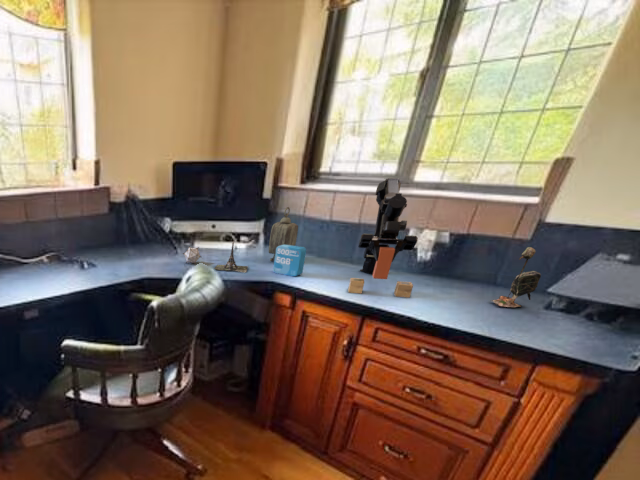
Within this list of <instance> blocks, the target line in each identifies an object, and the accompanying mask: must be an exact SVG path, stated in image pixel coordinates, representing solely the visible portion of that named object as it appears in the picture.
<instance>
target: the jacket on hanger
mask: <svg viewBox="0 0 640 480" xmlns="http://www.w3.org/2000/svg"><path fill="white" fill-rule="evenodd" d="M290 208H291V207H289V206H286V208H285V209H284V211H283V217H282V218H281V219H280V221H277V222H275V223H273V225H272V226H271V230H270V234H269V235H270V236H269V242H268V253H269V254H271V255H273V256H272V258H270V259H269V262H274V259H275V254H276V248H277V247H278V246H281V245H284V244H285V245H292V246H297V245H296V244H297V238H298V233H299V232H298V231H299V225H298V224H296V223H295V222H292V220H291V218H290V217H288V216H289V215H290V211H291V209H290ZM287 210H288V212H287ZM286 212H287V213H286Z"/></svg>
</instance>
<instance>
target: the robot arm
mask: <svg viewBox="0 0 640 480" xmlns="http://www.w3.org/2000/svg"><path fill="white" fill-rule="evenodd" d="M400 180H401V179H400V178H398V177H387V178H385V180H383V181H381V182H379V183H378V185H377V187H376V190H375V196H376V199H375V200H376V203H377V205H378V212H377V216H376V221H375V227H374V234H373V233H362V234H361V236H360V238H359V241H358V248H359V249H364V252H363V259H364V262H363V266H362V268H361V269H359V271H360V272H363V273H365V274H368V275H373V271H374V268H375V264H376V261H378V257H379V248H380V247H390V245H391V246H395V247H393V248H394V249H395V252H394V255H393V259H392V263H393V262H394V260H395V258H396V257H397V255H398V254H399V253H400V252H403V251H413V250H414V248H415V247H416V245H417V244H418V240H419V239H418V238H419V237H418V236H417V235H411V234H408V235H407V234H406V235H405V236H404V238H397V237H399V236H400V235H399V234H400V231H405V230H407V229H406V228H407V225H408V220H400V217H401V215H402V214H403V212H404V210H405V208H407V206H408V200H407V198H406V197H405V196H403V193H401V192H400V190H401V185H402V182H400ZM399 220H400V221H399Z"/></svg>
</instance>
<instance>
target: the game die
mask: <svg viewBox="0 0 640 480" xmlns="http://www.w3.org/2000/svg"><path fill="white" fill-rule="evenodd" d="M199 248H200V247H199V246H198V247H191V246H188V249H187V250H186V251H185V252H183V253H182V255H183V256H184V258H185V261H186V262H185V264H187V263H190V264H194V265H197V262H198V260H199V259H200V258H202V256H201V255H200V251H199Z"/></svg>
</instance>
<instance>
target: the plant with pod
mask: <svg viewBox="0 0 640 480" xmlns="http://www.w3.org/2000/svg"><path fill="white" fill-rule="evenodd" d="M535 253H536V249H535V248H533V247H531V246H528V247H526V248H525V249H524V251H523V252H522V253H521V256H520V257H519V258H518V260H521V259H525V262H524V264H523V266H522V269H521V271H520V273H519V274H518V275H516V277H515V278H514V279H513V281H512V283H511V285H510V290H509V291H510V292H509V294H508V296H504V295H500V296H498V299H493V300H491V302H492V303H494V304H495V305H496V306H498V307H504V308H506V307H507V308H518V307H521V305H519V304H518V303H515V301H516V300H517V299H518V298H519V297H521V296H525V295H526V296H527V299H528V300H529V301H531V293H533V292H535V291H536V289H537V288H538V285H539V281H540V279H541V277H542V274H541V273H540V272H538V271H536V270H531V271H526V272H525V271H524V269H525V267H526V265H527V263H528V261H529V260H530V259H532V258H533V257H534V255H535ZM511 294H512V296H511V297H510V295H511Z"/></svg>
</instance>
